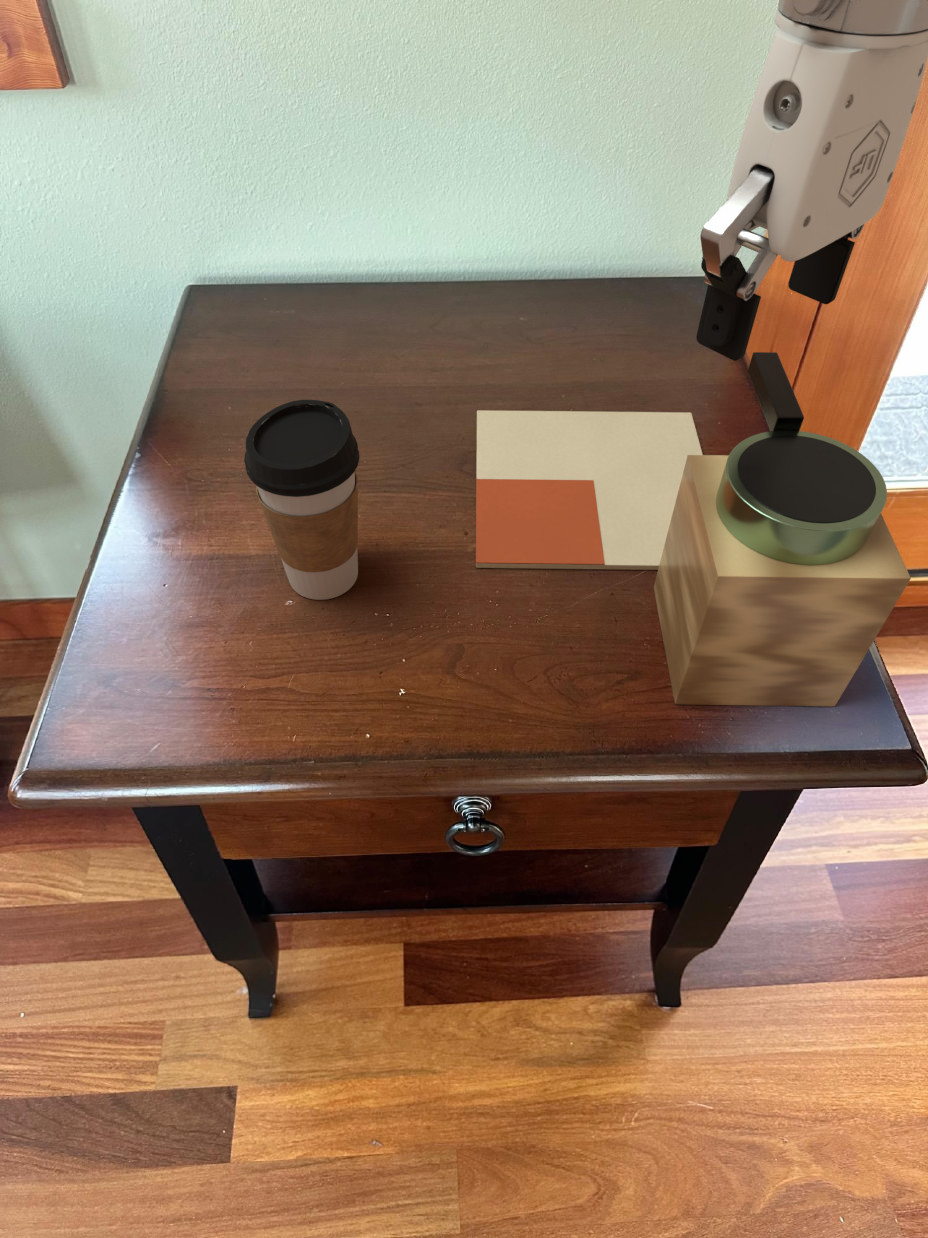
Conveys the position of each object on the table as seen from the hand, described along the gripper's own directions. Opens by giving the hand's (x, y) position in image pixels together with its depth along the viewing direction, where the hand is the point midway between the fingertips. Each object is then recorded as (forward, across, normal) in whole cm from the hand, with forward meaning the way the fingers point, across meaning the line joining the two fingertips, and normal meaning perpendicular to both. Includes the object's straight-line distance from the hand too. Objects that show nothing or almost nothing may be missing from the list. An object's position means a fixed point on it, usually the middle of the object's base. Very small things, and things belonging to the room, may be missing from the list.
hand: (766, 321), depth 53 cm
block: (+24, -2, -7) cm, 25 cm away
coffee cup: (+24, -23, +21) cm, 39 cm away
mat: (+24, +3, +14) cm, 28 cm away
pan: (+10, 0, -4) cm, 11 cm away
